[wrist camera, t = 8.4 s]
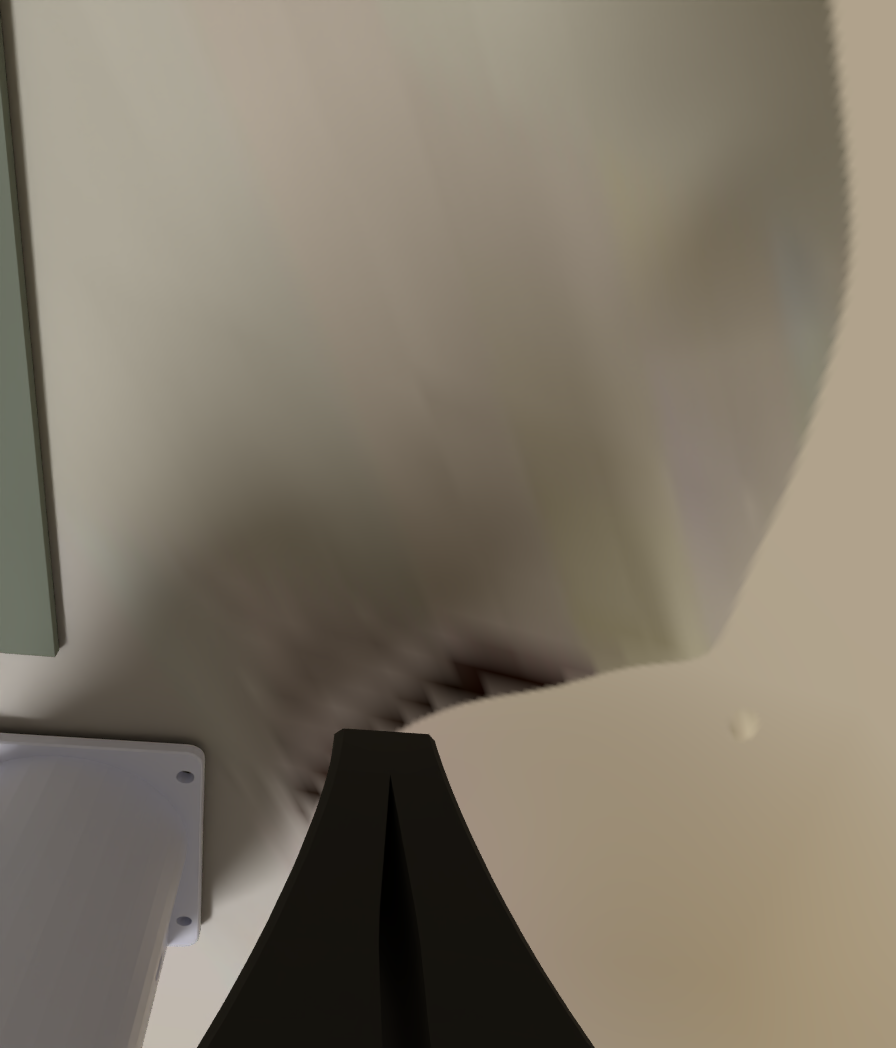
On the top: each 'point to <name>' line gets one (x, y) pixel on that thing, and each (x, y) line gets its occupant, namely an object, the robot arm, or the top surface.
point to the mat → (19, 439)
